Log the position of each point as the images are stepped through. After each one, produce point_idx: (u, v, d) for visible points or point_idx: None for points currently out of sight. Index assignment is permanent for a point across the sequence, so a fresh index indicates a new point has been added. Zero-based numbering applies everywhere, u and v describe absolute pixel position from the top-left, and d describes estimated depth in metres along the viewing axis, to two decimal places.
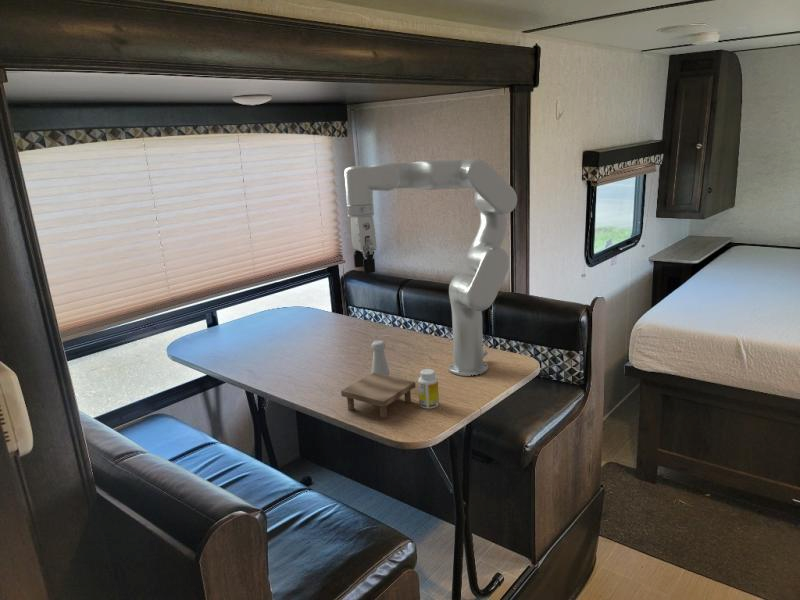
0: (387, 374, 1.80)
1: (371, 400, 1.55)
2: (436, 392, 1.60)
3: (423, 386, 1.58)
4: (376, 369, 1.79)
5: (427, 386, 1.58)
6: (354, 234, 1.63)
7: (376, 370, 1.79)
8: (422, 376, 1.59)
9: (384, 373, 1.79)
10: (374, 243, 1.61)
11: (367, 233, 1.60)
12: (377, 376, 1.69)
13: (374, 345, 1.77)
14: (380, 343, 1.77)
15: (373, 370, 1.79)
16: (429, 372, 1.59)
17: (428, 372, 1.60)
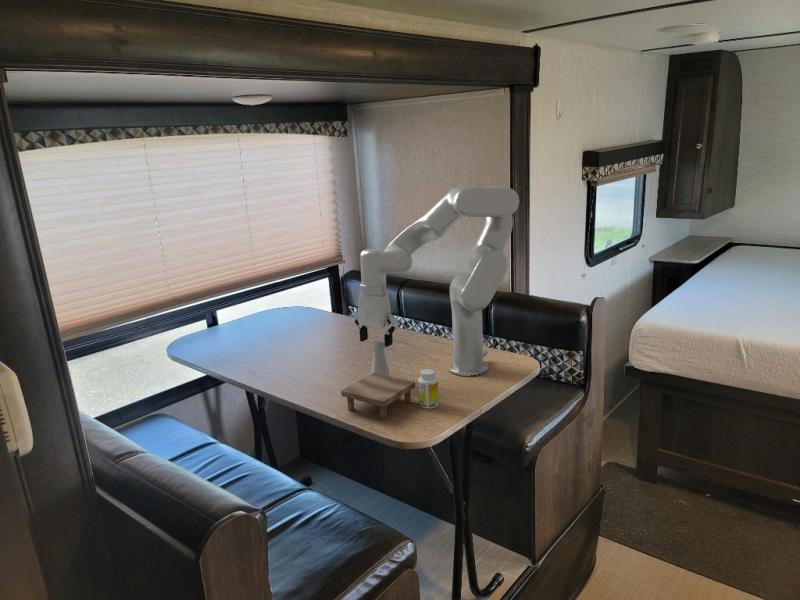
0: (387, 374, 1.80)
1: (371, 400, 1.55)
2: (436, 392, 1.60)
3: (423, 386, 1.58)
4: (376, 369, 1.79)
5: (427, 386, 1.58)
6: None
7: (376, 370, 1.79)
8: (422, 376, 1.59)
9: (384, 373, 1.79)
10: None
11: None
12: (377, 376, 1.69)
13: (374, 345, 1.77)
14: (380, 343, 1.77)
15: (373, 370, 1.79)
16: (429, 372, 1.59)
17: (428, 372, 1.60)
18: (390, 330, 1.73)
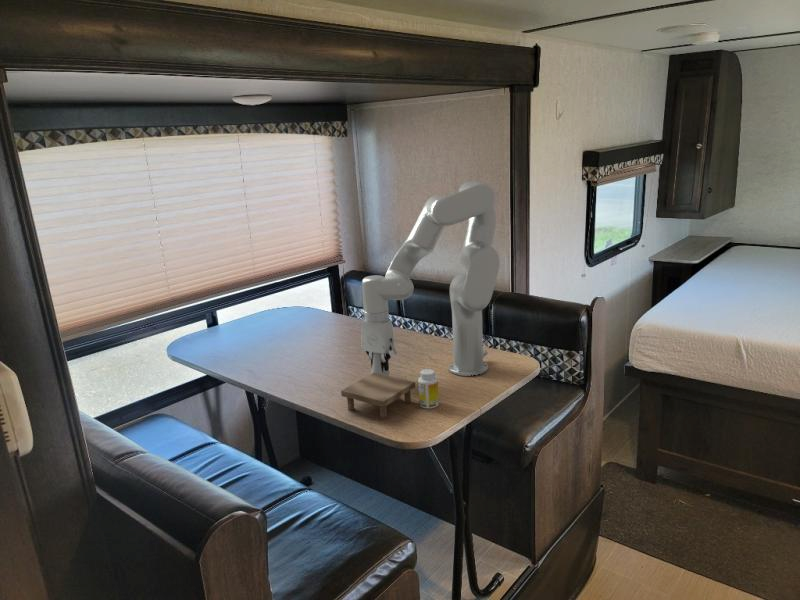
0: (387, 374, 1.80)
1: (371, 400, 1.55)
2: (436, 392, 1.60)
3: (423, 386, 1.58)
4: (376, 369, 1.79)
5: (427, 386, 1.58)
6: None
7: (376, 370, 1.79)
8: (422, 376, 1.59)
9: (384, 373, 1.79)
10: None
11: None
12: (377, 376, 1.69)
13: None
14: None
15: (373, 370, 1.79)
16: (429, 372, 1.59)
17: (428, 372, 1.60)
18: (386, 358, 1.77)
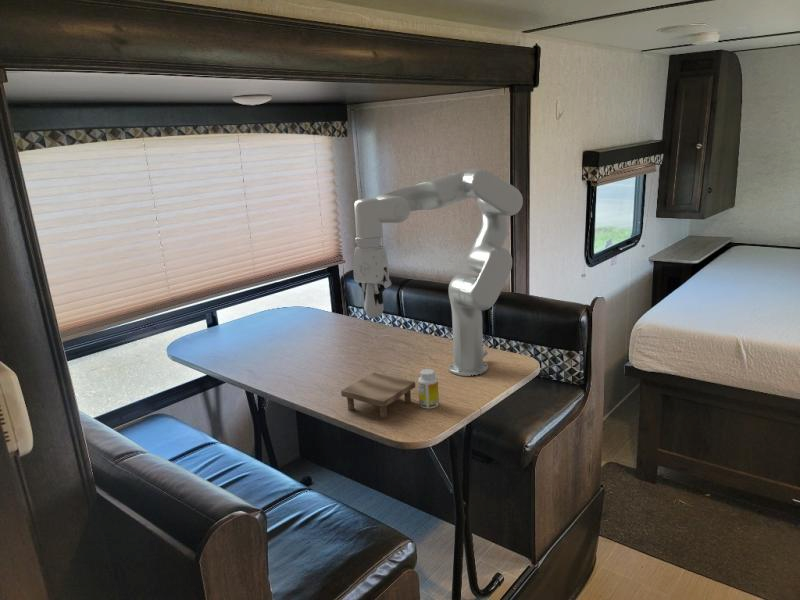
0: (381, 308, 1.65)
1: (371, 400, 1.55)
2: (436, 392, 1.60)
3: (423, 386, 1.58)
4: (369, 302, 1.64)
5: (427, 386, 1.58)
6: None
7: (369, 303, 1.64)
8: (422, 376, 1.59)
9: (377, 306, 1.64)
10: None
11: None
12: (377, 376, 1.69)
13: None
14: None
15: (366, 303, 1.65)
16: (429, 372, 1.59)
17: (428, 372, 1.60)
18: (380, 289, 1.63)
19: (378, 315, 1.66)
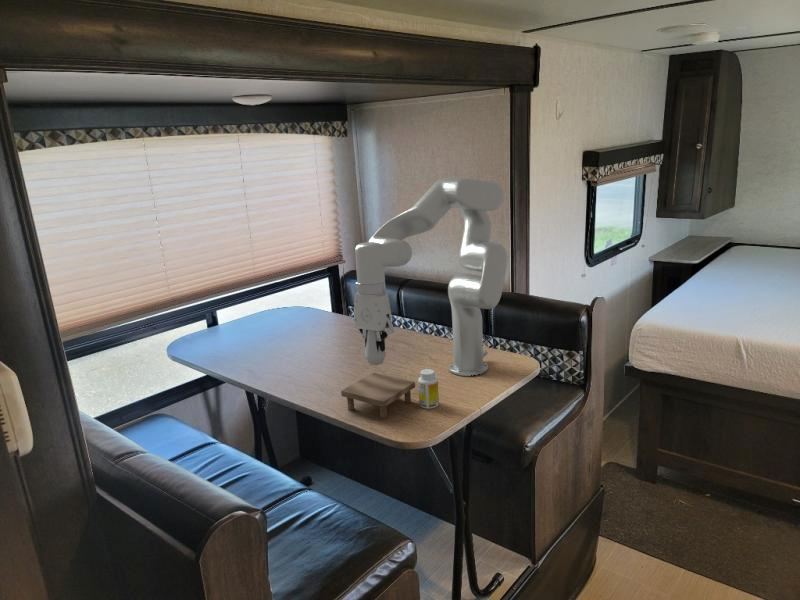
0: (383, 355, 1.58)
1: (371, 400, 1.55)
2: (436, 392, 1.60)
3: (423, 386, 1.58)
4: (371, 349, 1.57)
5: (427, 386, 1.58)
6: None
7: (371, 351, 1.57)
8: (422, 376, 1.59)
9: (379, 354, 1.57)
10: None
11: None
12: (377, 376, 1.69)
13: None
14: None
15: (367, 350, 1.58)
16: (429, 372, 1.59)
17: (428, 372, 1.60)
18: (382, 336, 1.56)
19: (380, 362, 1.59)
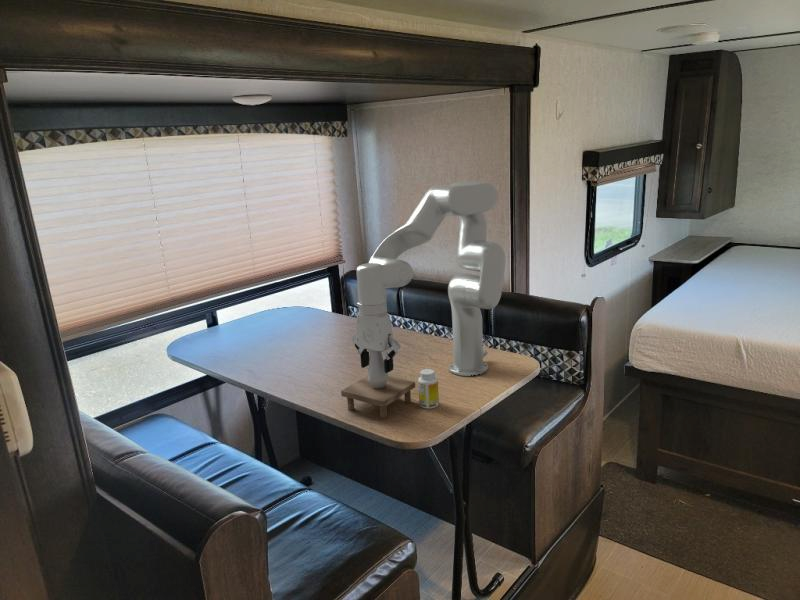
0: (385, 378, 1.60)
1: (371, 400, 1.55)
2: (436, 392, 1.60)
3: (423, 386, 1.58)
4: (373, 372, 1.59)
5: (427, 386, 1.58)
6: None
7: (373, 374, 1.59)
8: (422, 376, 1.59)
9: (382, 377, 1.59)
10: None
11: None
12: None
13: None
14: None
15: (370, 374, 1.60)
16: (429, 372, 1.59)
17: (428, 372, 1.60)
18: (390, 355, 1.56)
19: (383, 386, 1.61)
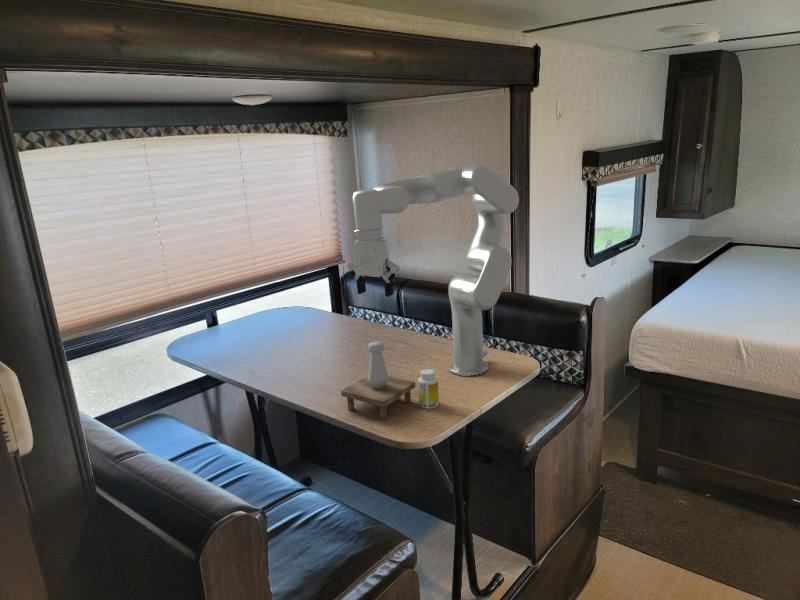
0: (386, 379, 1.60)
1: (371, 400, 1.55)
2: (436, 392, 1.60)
3: (423, 386, 1.58)
4: (373, 373, 1.59)
5: (427, 386, 1.58)
6: None
7: (374, 375, 1.59)
8: (422, 376, 1.59)
9: (382, 378, 1.59)
10: None
11: None
12: None
13: (371, 346, 1.58)
14: (378, 344, 1.58)
15: (370, 374, 1.60)
16: (429, 372, 1.59)
17: (428, 372, 1.60)
18: (390, 278, 1.58)
19: (383, 386, 1.61)
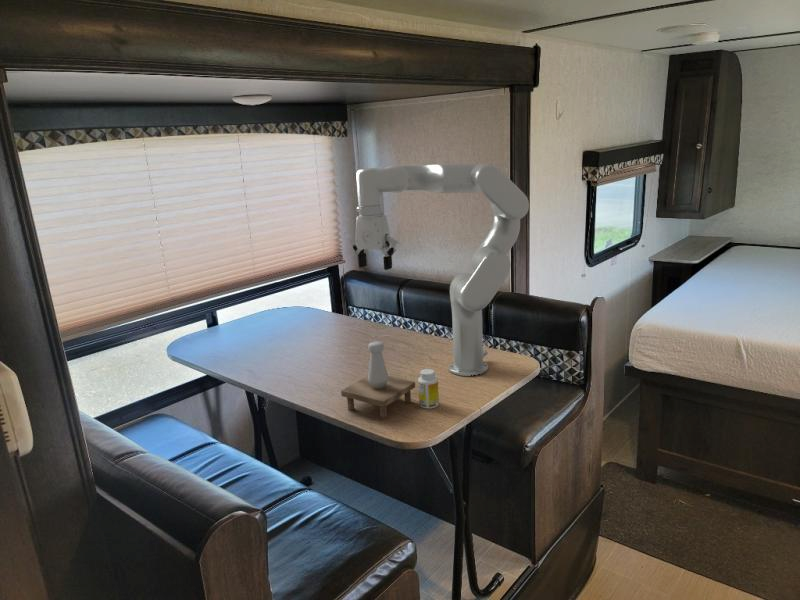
0: (386, 379, 1.60)
1: (371, 400, 1.55)
2: (436, 392, 1.60)
3: (423, 386, 1.58)
4: (373, 373, 1.59)
5: (427, 386, 1.58)
6: None
7: (374, 375, 1.59)
8: (422, 376, 1.59)
9: (382, 378, 1.59)
10: None
11: None
12: None
13: (371, 346, 1.58)
14: (378, 344, 1.58)
15: (370, 374, 1.60)
16: (429, 372, 1.59)
17: (428, 372, 1.60)
18: (389, 252, 1.68)
19: (383, 386, 1.61)
